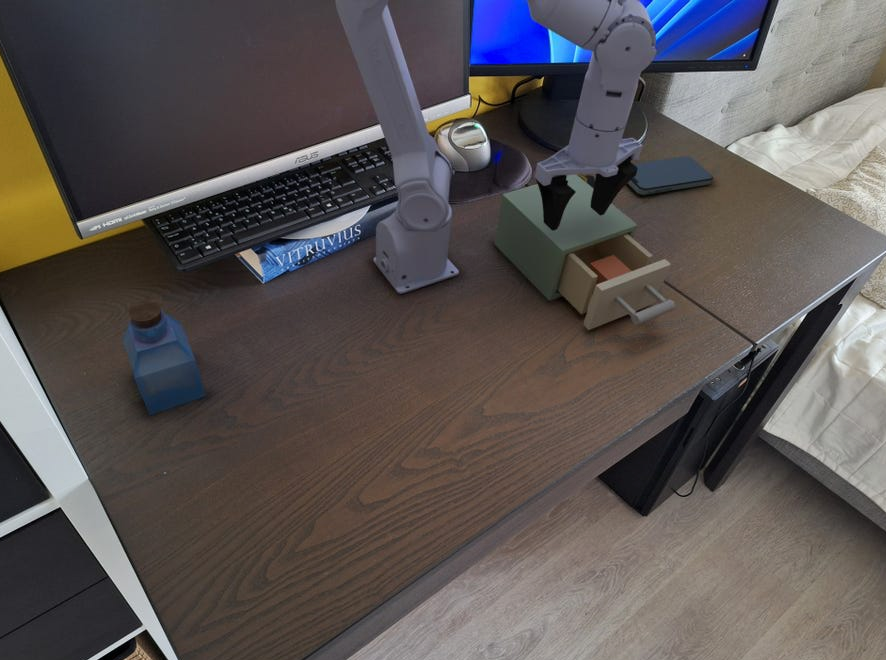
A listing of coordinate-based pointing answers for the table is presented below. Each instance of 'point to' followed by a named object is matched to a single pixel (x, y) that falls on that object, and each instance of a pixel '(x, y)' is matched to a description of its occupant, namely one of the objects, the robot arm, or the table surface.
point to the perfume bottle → (161, 358)
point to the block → (608, 269)
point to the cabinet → (553, 232)
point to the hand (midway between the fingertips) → (574, 218)
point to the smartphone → (669, 175)
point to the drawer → (615, 283)
